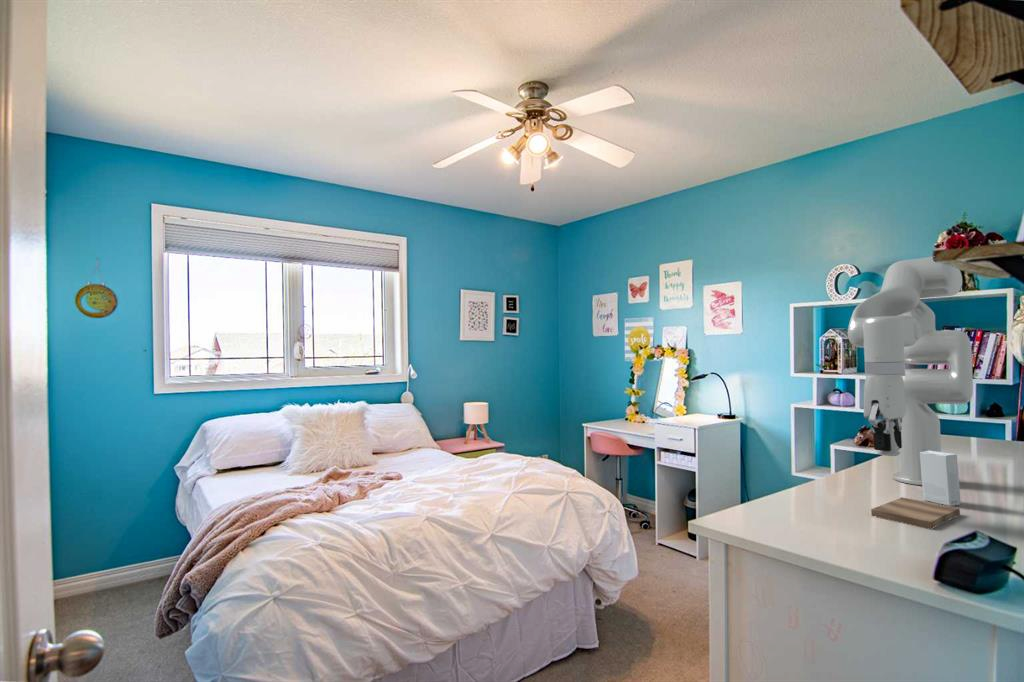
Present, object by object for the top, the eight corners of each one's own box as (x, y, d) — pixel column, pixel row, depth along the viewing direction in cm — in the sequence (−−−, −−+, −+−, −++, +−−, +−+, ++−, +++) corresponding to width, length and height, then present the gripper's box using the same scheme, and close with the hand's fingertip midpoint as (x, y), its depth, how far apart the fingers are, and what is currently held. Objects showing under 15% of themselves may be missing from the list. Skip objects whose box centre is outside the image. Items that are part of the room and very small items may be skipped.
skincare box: (961, 504, 123) (959, 454, 123) (949, 507, 121) (947, 455, 122) (933, 498, 129) (931, 449, 129) (921, 500, 127) (919, 451, 127)
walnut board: (902, 503, 125) (902, 497, 125) (959, 514, 116) (959, 508, 116) (871, 515, 116) (871, 509, 116) (930, 529, 107) (930, 522, 107)
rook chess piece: (904, 456, 116) (902, 420, 116) (881, 456, 117) (880, 420, 117) (894, 452, 120) (892, 418, 120) (872, 452, 121) (871, 418, 121)
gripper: (883, 367, 126) (887, 442, 126) (848, 371, 118) (851, 451, 117) (920, 368, 120) (923, 446, 120) (885, 372, 111) (889, 456, 111)
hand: (888, 448), depth 118 cm, fingers closed on rook chess piece, 4 cm apart
